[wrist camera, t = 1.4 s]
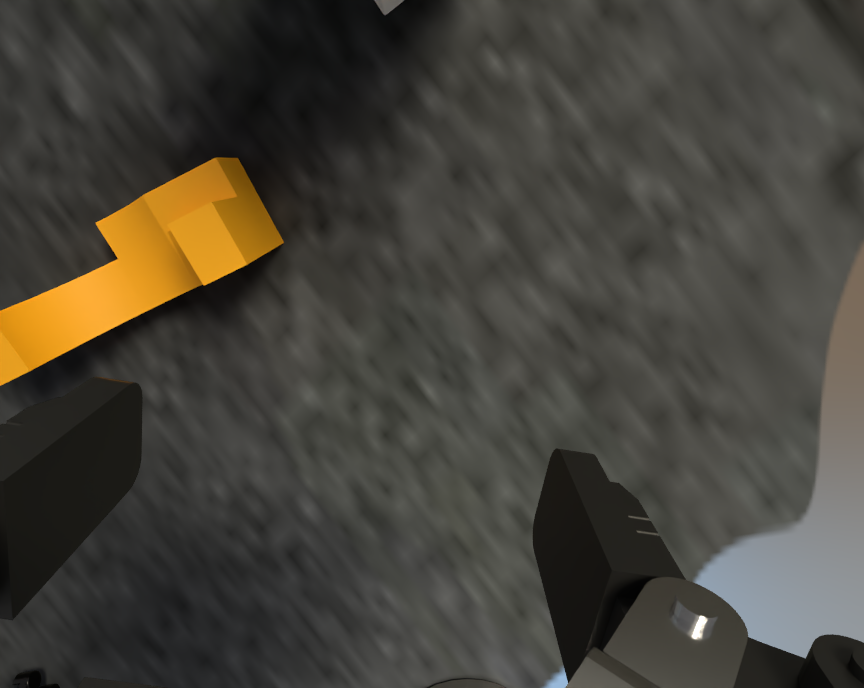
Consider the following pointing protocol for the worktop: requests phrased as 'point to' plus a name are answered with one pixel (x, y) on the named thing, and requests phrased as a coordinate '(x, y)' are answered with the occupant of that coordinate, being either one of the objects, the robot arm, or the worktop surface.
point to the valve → (31, 680)
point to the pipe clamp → (145, 263)
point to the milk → (387, 5)
